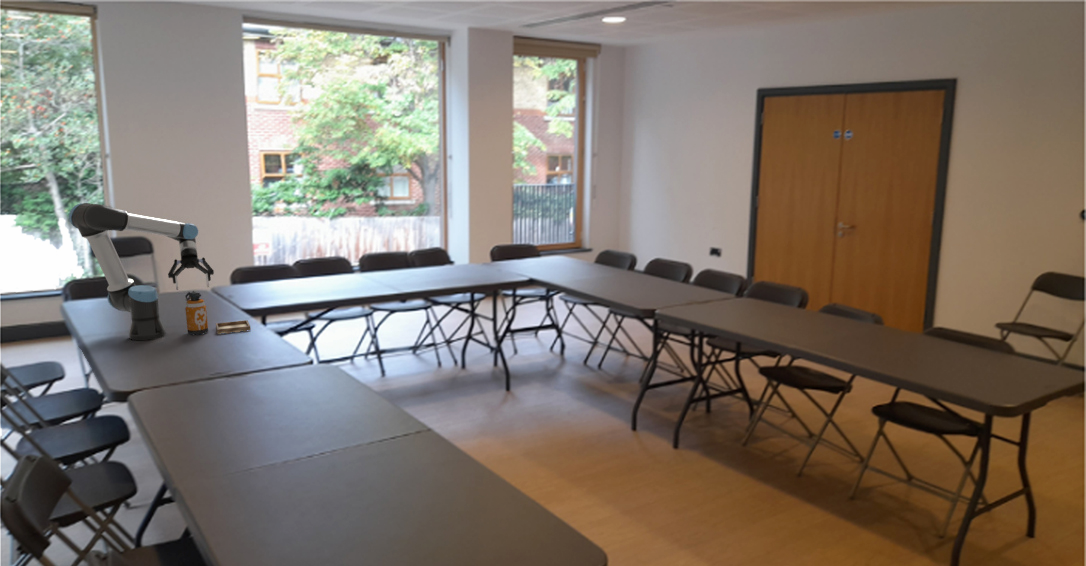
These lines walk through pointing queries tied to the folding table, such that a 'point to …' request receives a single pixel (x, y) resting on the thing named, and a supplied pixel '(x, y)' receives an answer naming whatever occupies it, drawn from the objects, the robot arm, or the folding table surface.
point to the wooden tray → (232, 326)
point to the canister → (196, 314)
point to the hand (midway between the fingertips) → (192, 287)
